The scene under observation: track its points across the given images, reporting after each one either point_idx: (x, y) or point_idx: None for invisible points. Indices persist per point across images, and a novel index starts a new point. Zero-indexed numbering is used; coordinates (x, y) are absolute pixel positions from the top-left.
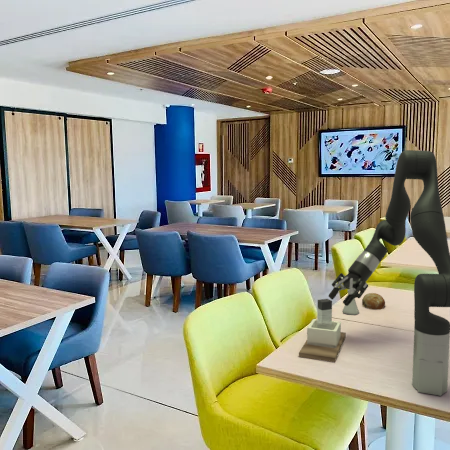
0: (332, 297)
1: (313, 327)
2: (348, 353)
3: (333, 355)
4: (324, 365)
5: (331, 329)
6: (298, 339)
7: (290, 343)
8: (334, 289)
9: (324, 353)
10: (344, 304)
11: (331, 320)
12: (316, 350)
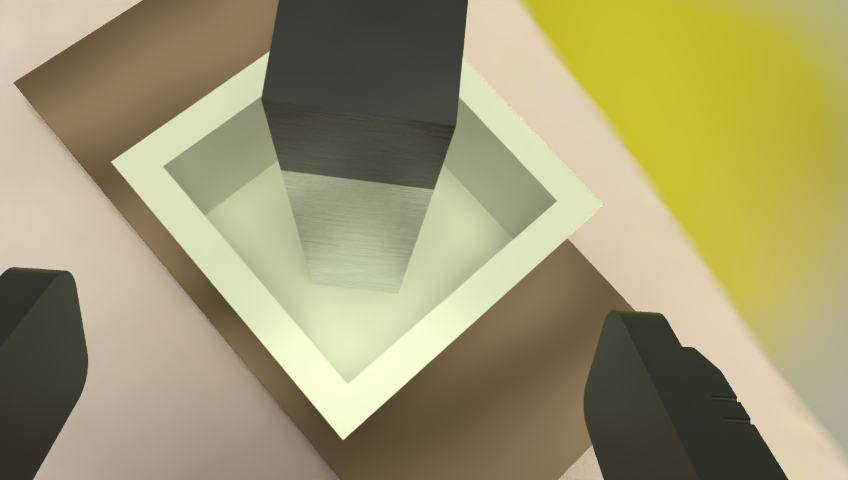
0: (600, 400)
1: (472, 142)
2: (97, 319)
3: (60, 104)
4: (41, 3)
5: (307, 259)
6: (570, 139)
7: (524, 38)
8: (692, 467)
9: (138, 68)
10: (77, 327)
11: (297, 224)
12: (225, 52)
